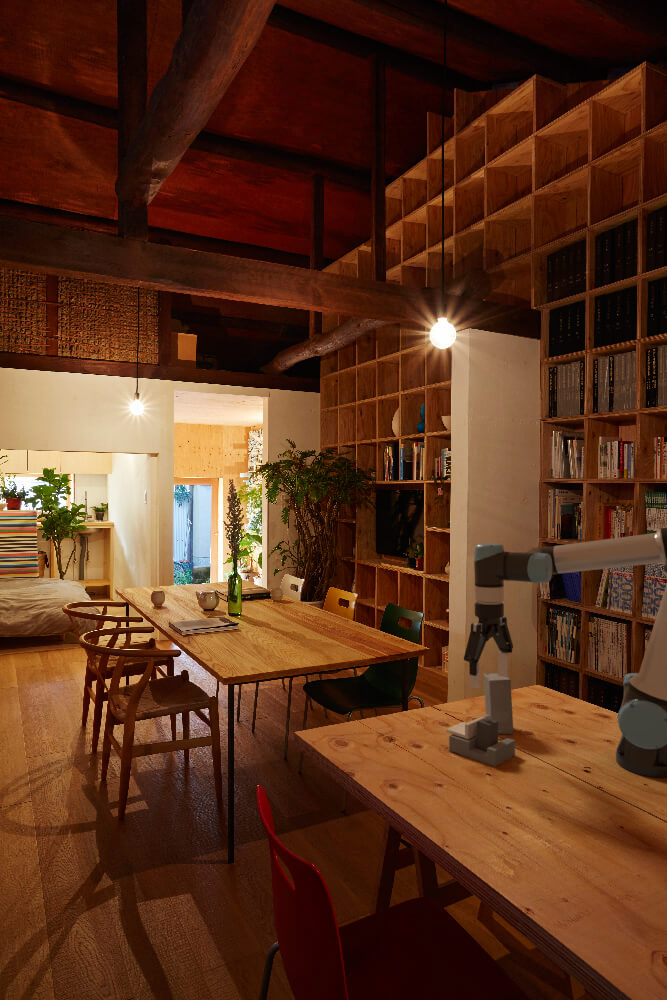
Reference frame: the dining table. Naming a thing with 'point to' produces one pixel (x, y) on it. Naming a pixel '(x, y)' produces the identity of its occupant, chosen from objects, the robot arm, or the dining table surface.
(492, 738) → the plug
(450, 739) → the socket
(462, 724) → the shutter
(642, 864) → the dining table surface
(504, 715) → the skincare box
